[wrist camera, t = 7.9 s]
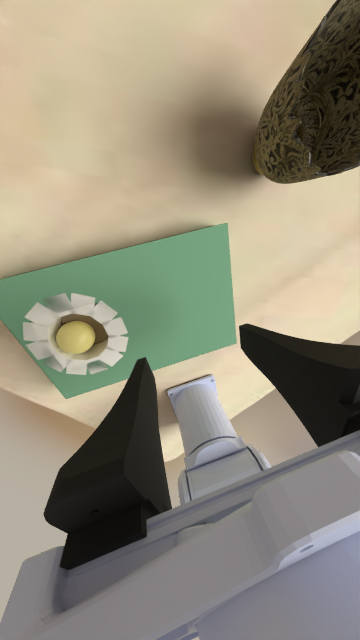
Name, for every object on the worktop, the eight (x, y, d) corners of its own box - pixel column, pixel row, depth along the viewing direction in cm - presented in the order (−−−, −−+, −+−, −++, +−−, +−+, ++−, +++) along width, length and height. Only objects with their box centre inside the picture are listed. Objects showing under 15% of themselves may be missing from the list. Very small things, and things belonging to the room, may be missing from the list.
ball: (99, 355, 19) (65, 358, 15) (79, 350, 20) (45, 351, 17) (104, 324, 19) (73, 320, 16) (84, 321, 21) (52, 317, 17)
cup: (222, 192, 17) (282, 156, 10) (241, 86, 14) (345, -76, 7) (282, 205, 19) (369, 182, 12) (310, 113, 16) (449, 8, 9)
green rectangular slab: (226, 332, 24) (236, 343, 22) (74, 380, 22) (65, 399, 20) (214, 225, 18) (227, 222, 15) (1, 279, 16) (-27, 286, 13)
